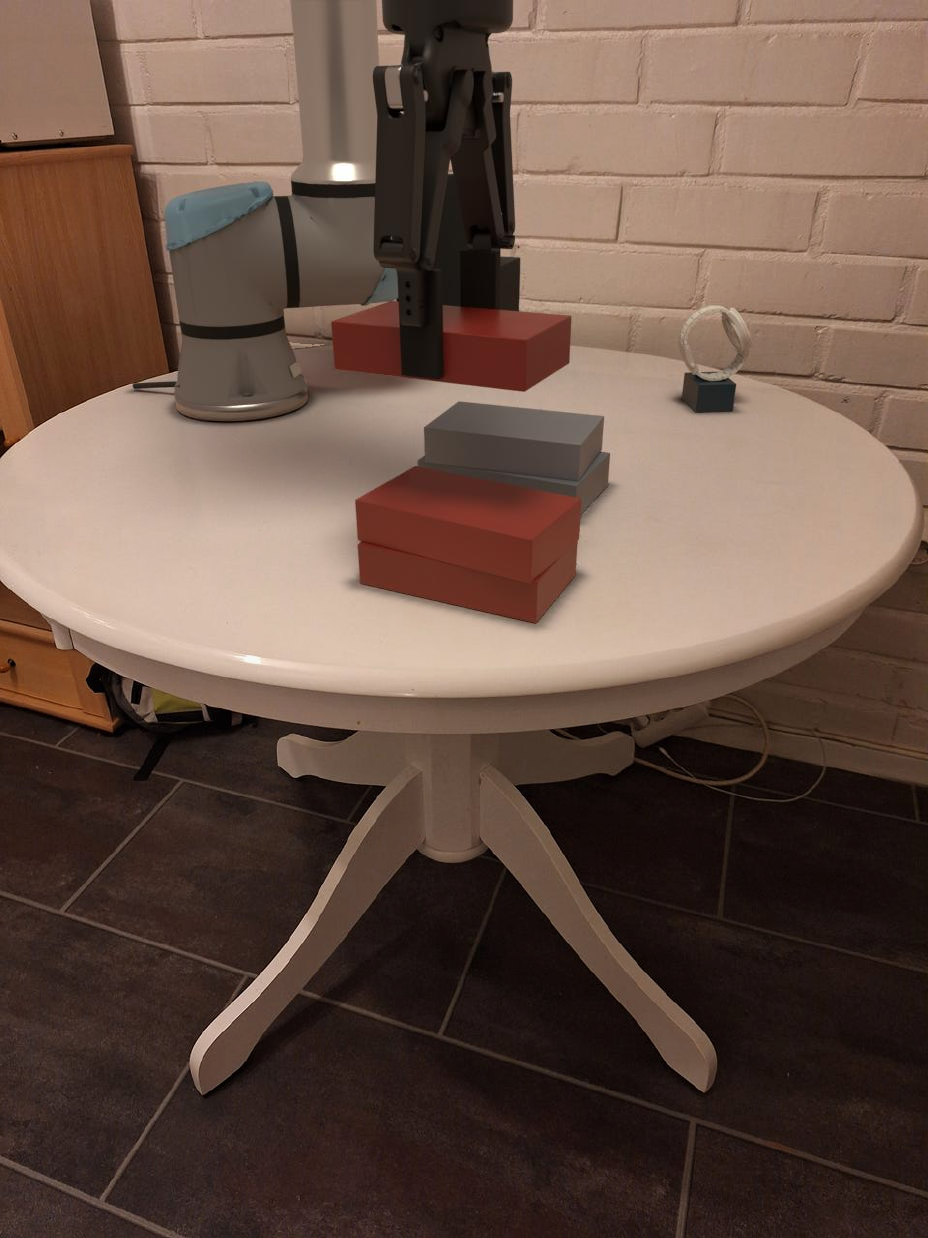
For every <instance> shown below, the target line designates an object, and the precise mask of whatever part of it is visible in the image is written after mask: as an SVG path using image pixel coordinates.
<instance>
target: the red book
mask: <svg viewBox="0 0 928 1238" xmlns="http://www.w3.org/2000/svg"><path fill="white" fill-rule="evenodd" d="M572 317H573V316H572V315H568V314H557V313H556V314H555V313H542V312H530V311H520V310H519V311H508V310H496V309H484V308H472V307H460V306H447V305H443V349H444V377H443V378H441V379H430V378H422V377H413V376H405V375H402V373H401V349H400V325H399V302H398V301H396V300H393V301H388V302H383V303H381V304H378V305H375V306H372V307H369V308H367V309H363V310H361V311H358V312H355V313H351V314H349V315H345V316H342V317H339V318H337V319H333V320H330V321H331V322H330V324H331V339H332V351H333V363H334V370H336V371H337V370H338V371H345V372H352V373H353V372H354V373H363V374H371V375H377V376H378V375H379V376H388V377H395V378H396V377H397V378H404V379H413V380H421V381H430V382H439V383H446V384H456V385H462V386H464V385H465V386H472V387H482V388H489V389H497V390H504V391H505V390H506V391H515V392H522V393H525V392H527V391H528V390H531V389H532V388H534V387H535V386H536V385H538V384H540V383H541V382H543V381H545V380H546V379H547V378H548V377H551V376H552V375H553V374H555V373H557V372H558V371H560V370H561V369H563V368H565V367H566V366H567V365H569V364H570V361H571V360H570V359H571V358H570V357H571V338H572V336H571V335H572Z"/></svg>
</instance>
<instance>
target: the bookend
mask: <svg viewBox="0 0 928 1238" xmlns="http://www.w3.org/2000/svg"><path fill="white" fill-rule="evenodd" d="M464 249H470V250H473V247H468V246H467V243H466V238H465V233H464V227H463V222H462V217H461V212H460V207H459V202H458V196H457V191H456V186H455V181H454V176H453V173H448V177H447V183H446V190H445V196H444V202H443V209H442V215H441V221H440V228H439V234H438V240H437V247H436V253H435V259H434V265H433V268H432V269H442V295H443V305H447V306H460V250H464ZM501 250H502V249H498V251H500V310H508V311H520V292H521V290H520V289H521V257H520V256H519V257H517V256H501V255H502V254H501V252H502V251H501ZM395 301H398V298H397V299H396V300H395Z"/></svg>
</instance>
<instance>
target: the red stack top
mask: <svg viewBox="0 0 928 1238" xmlns="http://www.w3.org/2000/svg"><path fill="white" fill-rule="evenodd" d="M581 500H582V499H581V498H576V497H571V496H566V495H560V494H555V493H550V492H545V491H540V490H535V489H530V488H525V487H520V486H515V485H510V484H505V483H500V482H495V481H490V480H485V479H480V478H474V477H469V476H464V475H459V474H454V473H449V472H444V471H439V470H434V469H429V468H424V467H419V466H418V465H414V466H412V467H410V468H408V469H407V470H405V471H404V472H402V473H399V474H398V475H396V476H395V477H393V478H391V479H389V480H388V481H385V482H384V483H382V484H381V485H379V486H376V487H375V488H374V489H371V490H370V491H368V492H366V493H364V494H363V495H361V496H359V497H357V498H356V499H355V500H354V507H355V520H356V521H355V523H356V534H357V535H356V537H357V541H358V542H365V543H369V544H373V545H377V546H381V547H385V548H389V549H393V550H397V551H401V552H405V553H409V554H413V555H417V556H421V557H425V558H430V559H434V560H438V561H442V562H446V563H450V564H454V565H458V566H462V567H466V568H470V569H474V570H478V571H482V572H486V573H490V574H494V575H498V576H502V577H506V578H510V579H514V580H518V581H522V582H526V583H532V582H533V581H534V580H535V579H536V578H537V577H538V576H540V575H541V574H542V573H543V572H544V571H545V570H546V569H547V568H548V567H549V566H551V565H552V564H553V563H554V562H555V561H556V560H557V559H558V558H559V557H560V556H561V555H563V554H564V553H565V552H566V551H567V550H568V549H569V548H570V547H571V546H572V545H574V544H575V543H576V542H577V541H579V540H580V532H581V515H582V514H581Z"/></svg>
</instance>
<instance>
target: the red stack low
mask: <svg viewBox="0 0 928 1238" xmlns="http://www.w3.org/2000/svg"><path fill="white" fill-rule="evenodd" d="M578 541H579V540H578ZM578 541H577V542H576V543H575V544H574V545H572V546H571V547H570V548H569V549H568V550H567V551H566V552H565V553H564V554H563V555H561V556H560V557H559V558H558V559H557V560H556V561H555V562H554V563H553V564H552V565H551V566H549V567H548V568H547V569H546V570H545V571H544V572H543V573H542V574H541V575H540V576H538V577H537V578H536V579H535V580H534V581H533V582H532V583H526V582H522V581H518V580H514V579H510V578H506V577H502V576H498V575H494V574H490V573H486V572H482V571H478V570H474V569H470V568H466V567H462V566H458V565H454V564H450V563H446V562H442V561H438V560H434V559H430V558H425V557H421V556H417V555H413V554H409V553H405V552H401V551H397V550H393V549H389V548H385V547H381V546H377V545H373V544H369V543H365V542H361V541H359V543H357V558H358V571H359V573H358V574H359V584H361V585H365V586H370V587H374V588H379V589H384V590H388V591H393V592H397V593H401V594H405V595H411V596H414V597H418V598H423V599H428V600H432V601H435V602H441V603H444V604H450V605H454V606H459V607H463V608H467V609H472V610H476V611H480V612H484V613H489V614H493V615H498V616H503V617H507V618H512V619H515V620H519V621H520V620H521V621H525V622H529V623H533V624H537V623H538V622H539V620H540V619H541V618H542V617H543V615H544V614H545V613H546V612H547V610H548V609H550V607H551V606H552V604H553V603H554V602H555V601H556V600H557V599H558V597H559V596H560V595H561V593H562V592H563V591H564V590H565V589H566V588H567V587H568V585H569V584H570V582H571V581H573V579H574V578H575V577H576V575H577V559H578V544H579V542H578Z"/></svg>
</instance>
